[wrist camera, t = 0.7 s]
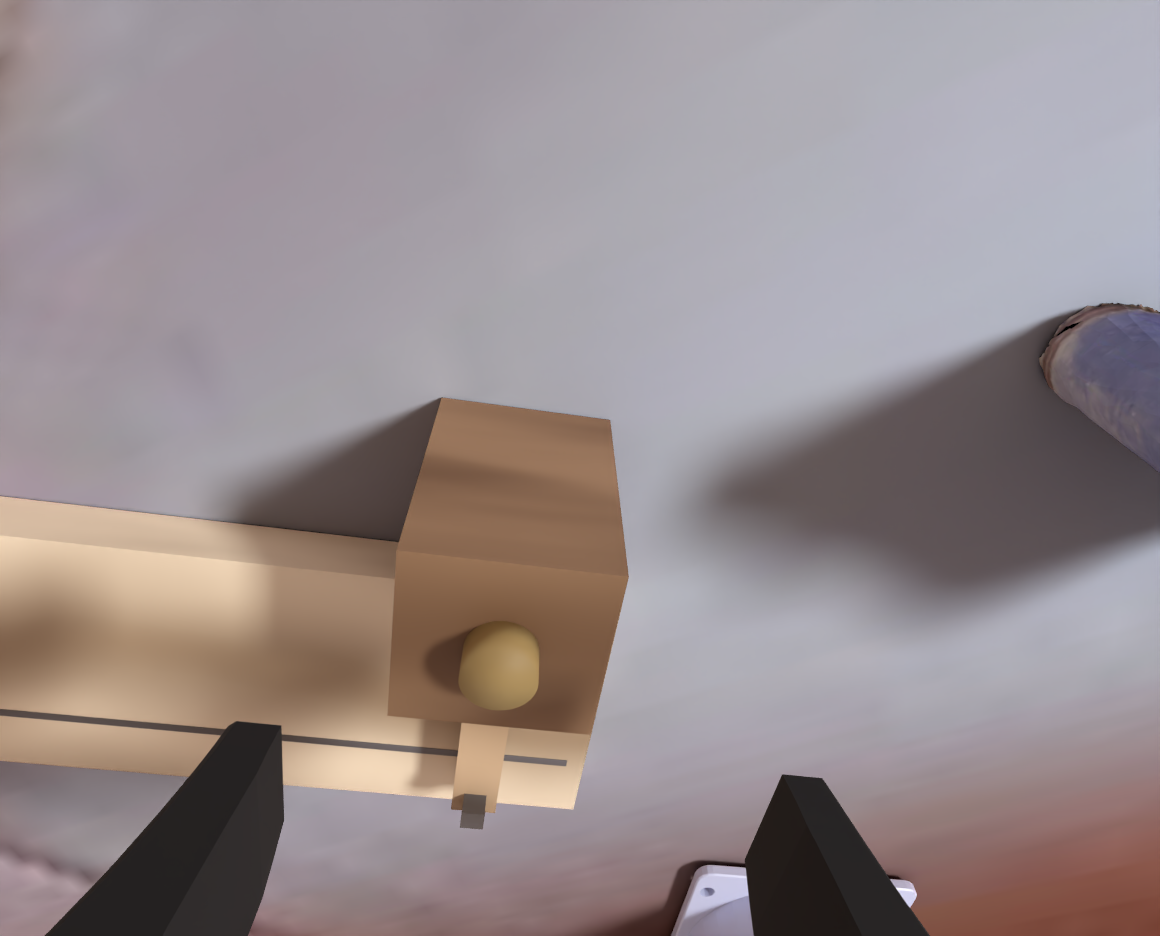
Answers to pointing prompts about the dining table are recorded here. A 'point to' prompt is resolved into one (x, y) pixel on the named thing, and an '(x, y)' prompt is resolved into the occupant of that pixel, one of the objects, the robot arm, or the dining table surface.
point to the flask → (1111, 372)
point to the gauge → (507, 583)
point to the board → (222, 655)
